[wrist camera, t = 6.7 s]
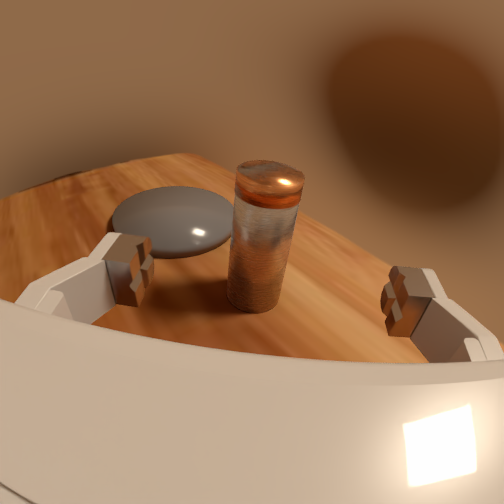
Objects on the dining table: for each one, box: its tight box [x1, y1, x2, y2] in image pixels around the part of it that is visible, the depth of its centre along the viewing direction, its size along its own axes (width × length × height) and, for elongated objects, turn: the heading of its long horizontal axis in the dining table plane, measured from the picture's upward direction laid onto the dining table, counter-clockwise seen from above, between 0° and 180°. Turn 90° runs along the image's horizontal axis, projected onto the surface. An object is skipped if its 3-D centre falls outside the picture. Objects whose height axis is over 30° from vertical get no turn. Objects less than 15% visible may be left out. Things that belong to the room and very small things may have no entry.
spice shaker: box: [226, 160, 305, 313], centre depth 24 cm, size 5×5×11 cm
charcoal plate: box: [112, 186, 234, 258], centre depth 36 cm, size 14×14×1 cm
